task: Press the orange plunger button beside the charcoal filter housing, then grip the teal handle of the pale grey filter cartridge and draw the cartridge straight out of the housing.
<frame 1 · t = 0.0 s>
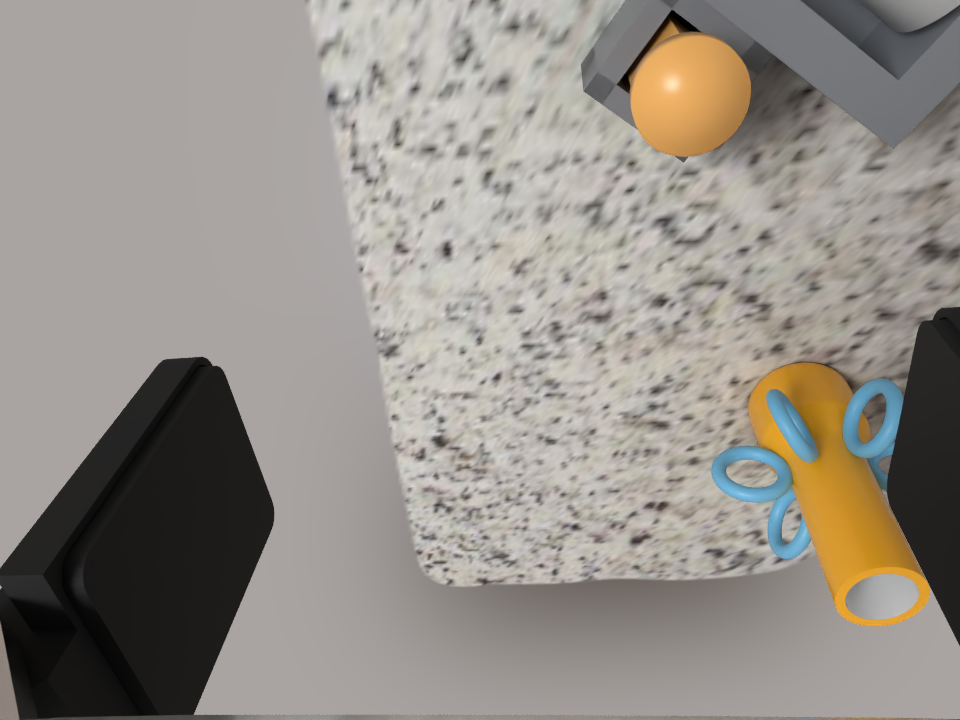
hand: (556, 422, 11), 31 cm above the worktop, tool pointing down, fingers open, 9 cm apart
ringed yellow tube: (797, 398, 48), on the worktop
plunger: (679, 77, 32), point 6 cm above the worktop, slide at 0.0 cm
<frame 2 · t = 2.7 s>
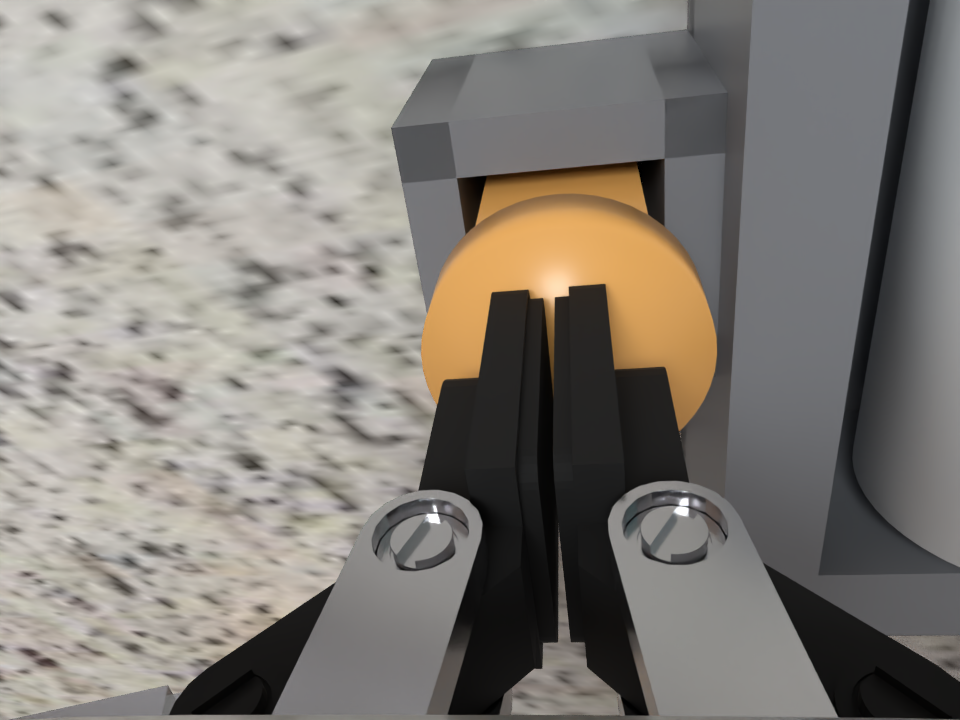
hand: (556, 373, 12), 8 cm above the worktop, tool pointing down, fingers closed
plunger: (565, 262, 14), point 5 cm above the worktop, slide at -0.8 cm, touching gripper
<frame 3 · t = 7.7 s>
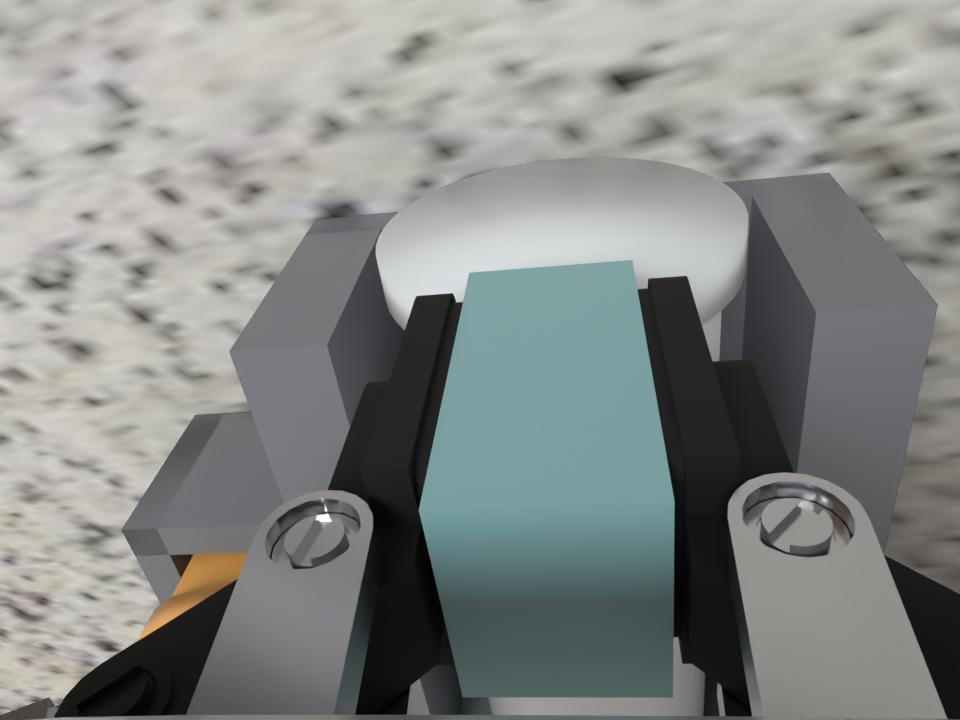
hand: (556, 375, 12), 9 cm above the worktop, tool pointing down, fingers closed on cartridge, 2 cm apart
plunger: (257, 582, 22), point 4 cm above the worktop, slide at -1.4 cm
cartridge: (582, 595, 17), point 7 cm above the worktop, slide at 0.0 cm, touching gripper
housing: (581, 466, 25), on the worktop
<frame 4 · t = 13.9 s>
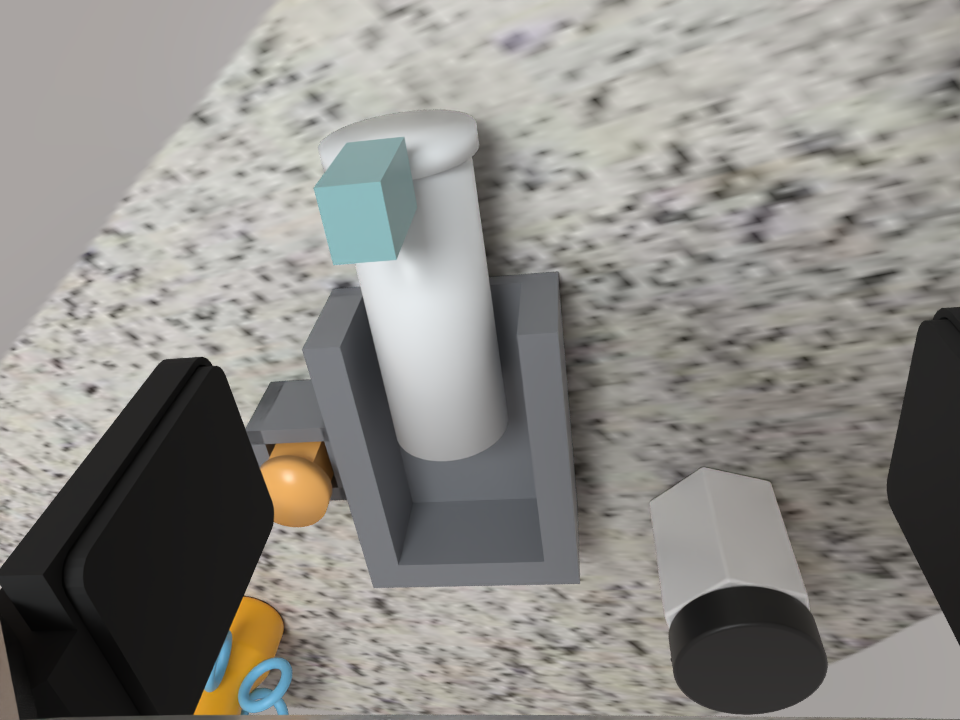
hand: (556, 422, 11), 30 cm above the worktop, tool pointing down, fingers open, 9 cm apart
ringed yellow tube: (250, 616, 63), on the worktop
jar: (713, 512, 52), on the worktop
plunger: (304, 460, 46), point 4 cm above the worktop, slide at -1.4 cm
cartridge: (417, 313, 37), point 7 cm above the worktop, slide at 8.5 cm
housing: (465, 407, 49), on the worktop
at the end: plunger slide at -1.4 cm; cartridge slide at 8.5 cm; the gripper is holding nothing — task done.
